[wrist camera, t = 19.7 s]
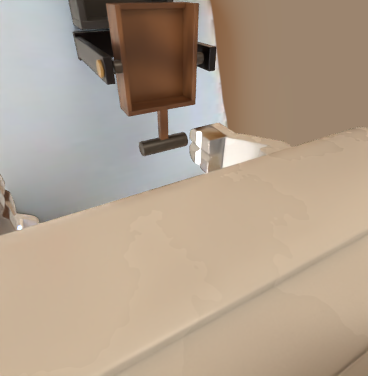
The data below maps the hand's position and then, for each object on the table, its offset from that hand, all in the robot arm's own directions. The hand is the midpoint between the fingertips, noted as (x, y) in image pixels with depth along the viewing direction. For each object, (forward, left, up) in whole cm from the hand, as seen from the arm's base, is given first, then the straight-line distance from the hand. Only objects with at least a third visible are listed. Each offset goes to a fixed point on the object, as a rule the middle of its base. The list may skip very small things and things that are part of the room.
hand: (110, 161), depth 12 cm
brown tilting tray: (-3, -10, -20) cm, 22 cm away
